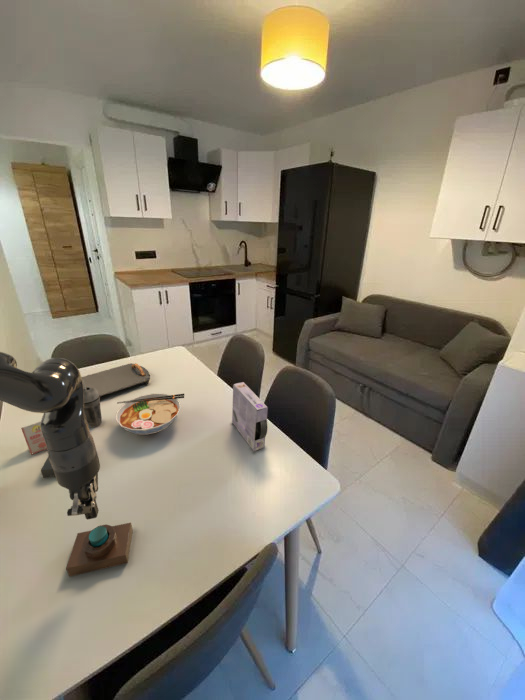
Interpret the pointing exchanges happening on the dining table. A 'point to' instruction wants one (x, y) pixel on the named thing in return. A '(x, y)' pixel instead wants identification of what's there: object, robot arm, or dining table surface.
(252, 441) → the cake pan box
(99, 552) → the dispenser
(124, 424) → the ramen bowl
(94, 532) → the button
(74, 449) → the robot arm
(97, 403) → the beverage cup
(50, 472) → the dial panel
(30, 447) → the pink printed box
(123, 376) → the serving tray
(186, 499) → the dining table surface
